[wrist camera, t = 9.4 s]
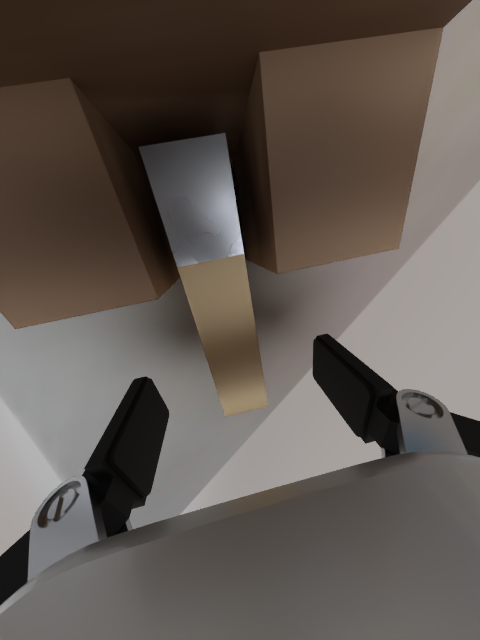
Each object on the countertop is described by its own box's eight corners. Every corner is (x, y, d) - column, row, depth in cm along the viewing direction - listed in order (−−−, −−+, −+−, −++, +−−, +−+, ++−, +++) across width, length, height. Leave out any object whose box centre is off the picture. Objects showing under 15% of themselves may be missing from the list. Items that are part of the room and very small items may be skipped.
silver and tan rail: (174, 194, 11) (138, 146, 6) (219, 186, 11) (225, 132, 6) (221, 362, 17) (225, 416, 12) (251, 355, 17) (268, 406, 12)
